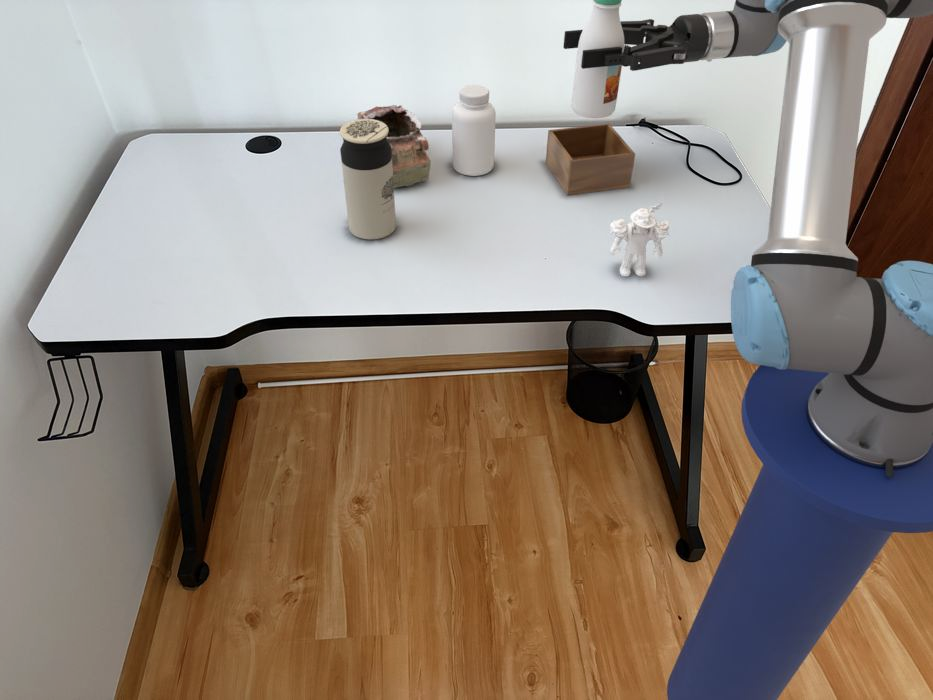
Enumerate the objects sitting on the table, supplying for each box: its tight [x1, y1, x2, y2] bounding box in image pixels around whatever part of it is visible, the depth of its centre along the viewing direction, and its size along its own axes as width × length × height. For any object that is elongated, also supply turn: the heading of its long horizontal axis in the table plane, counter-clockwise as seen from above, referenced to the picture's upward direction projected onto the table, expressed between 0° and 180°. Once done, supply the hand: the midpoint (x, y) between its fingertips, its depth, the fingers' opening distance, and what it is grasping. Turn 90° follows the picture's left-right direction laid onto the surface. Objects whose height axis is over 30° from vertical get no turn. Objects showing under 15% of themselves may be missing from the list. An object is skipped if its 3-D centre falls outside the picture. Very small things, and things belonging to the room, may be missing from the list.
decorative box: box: [356, 104, 431, 189], centre depth 141 cm, size 13×20×10 cm, turn 16°
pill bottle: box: [451, 84, 497, 177], centre depth 139 cm, size 8×8×15 cm
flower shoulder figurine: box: [609, 202, 670, 277], centre depth 117 cm, size 9×4×12 cm, turn 89°
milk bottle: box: [570, 0, 625, 119], centre depth 126 cm, size 8×8×20 cm
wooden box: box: [545, 122, 636, 196], centre depth 140 cm, size 12×12×7 cm
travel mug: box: [339, 118, 397, 240], centre depth 123 cm, size 8×8×18 cm
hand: (573, 49), depth 125 cm, fingers closed on milk bottle, 8 cm apart
